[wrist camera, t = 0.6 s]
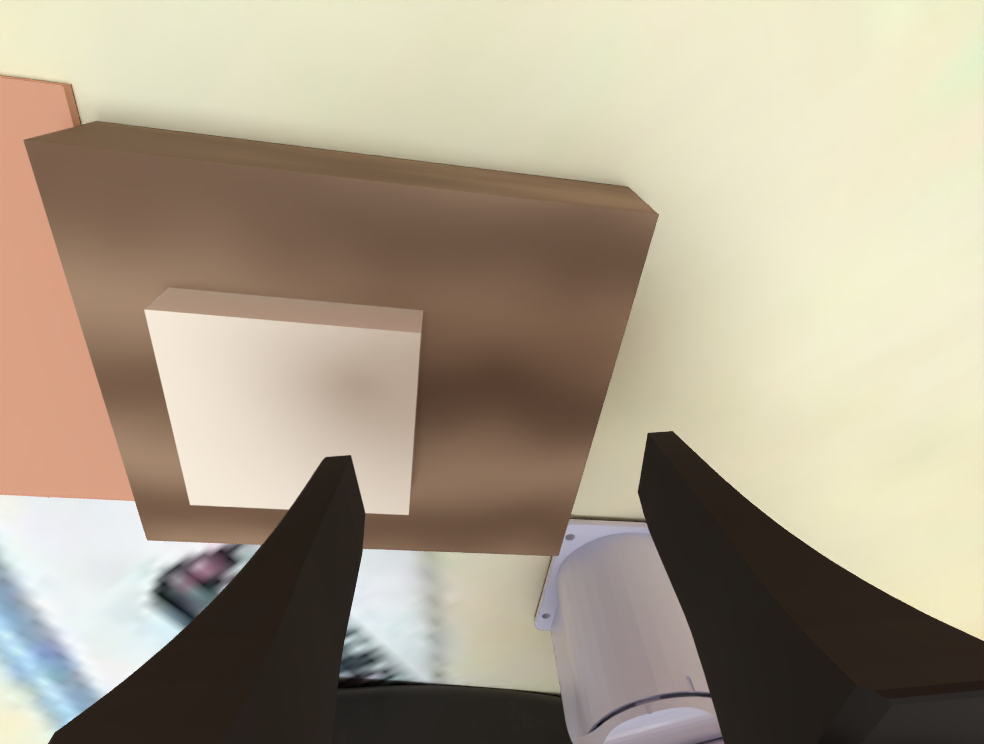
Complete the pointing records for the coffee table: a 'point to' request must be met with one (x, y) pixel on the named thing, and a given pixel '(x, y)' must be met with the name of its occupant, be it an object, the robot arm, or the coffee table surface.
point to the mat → (44, 328)
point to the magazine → (447, 716)
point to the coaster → (287, 394)
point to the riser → (364, 281)
